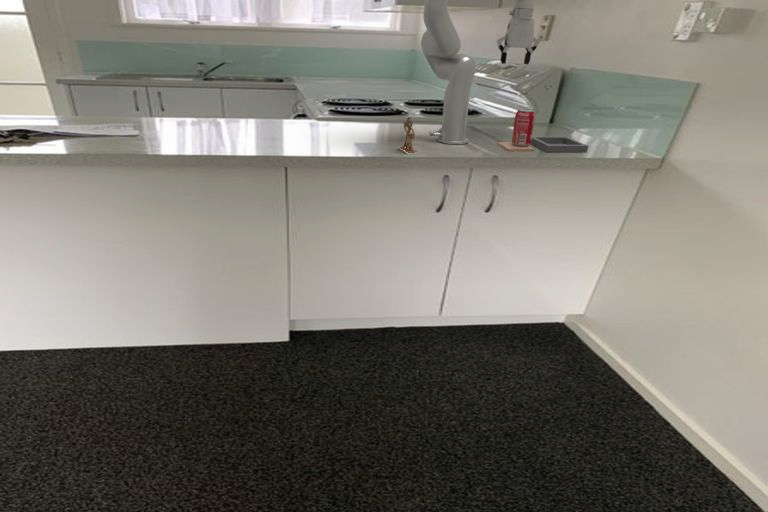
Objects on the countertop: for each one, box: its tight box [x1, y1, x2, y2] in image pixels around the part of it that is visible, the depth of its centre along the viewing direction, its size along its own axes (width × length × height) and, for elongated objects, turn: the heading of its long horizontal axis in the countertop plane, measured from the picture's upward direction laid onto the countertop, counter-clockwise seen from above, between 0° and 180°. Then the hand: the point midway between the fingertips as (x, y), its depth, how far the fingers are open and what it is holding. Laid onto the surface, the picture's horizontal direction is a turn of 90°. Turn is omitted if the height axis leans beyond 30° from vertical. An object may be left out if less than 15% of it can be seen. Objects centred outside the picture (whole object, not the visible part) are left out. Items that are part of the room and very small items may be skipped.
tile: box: [497, 141, 534, 152], centre depth 161 cm, size 10×11×1 cm
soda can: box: [510, 108, 536, 147], centre depth 159 cm, size 7×7×13 cm
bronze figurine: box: [399, 116, 418, 153], centre depth 148 cm, size 9×4×12 cm, turn 21°
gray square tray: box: [529, 136, 589, 153], centre depth 163 cm, size 16×16×2 cm
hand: (514, 63), depth 169 cm, fingers open, 9 cm apart
